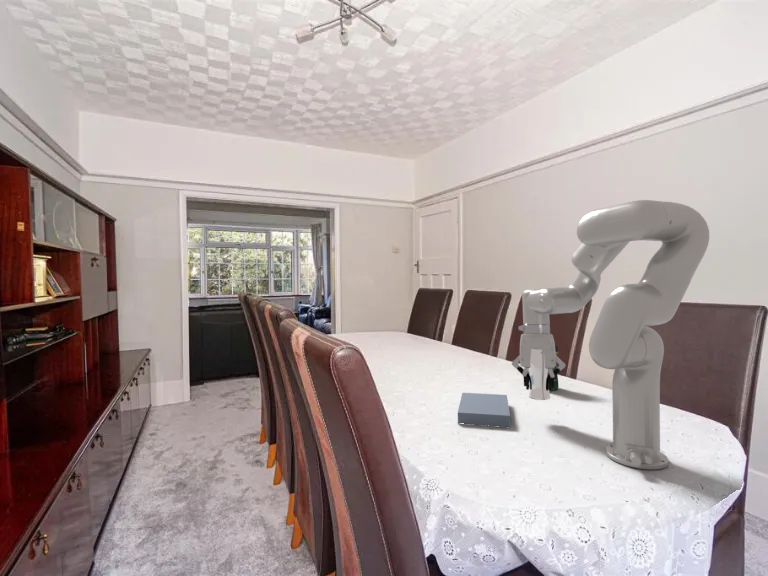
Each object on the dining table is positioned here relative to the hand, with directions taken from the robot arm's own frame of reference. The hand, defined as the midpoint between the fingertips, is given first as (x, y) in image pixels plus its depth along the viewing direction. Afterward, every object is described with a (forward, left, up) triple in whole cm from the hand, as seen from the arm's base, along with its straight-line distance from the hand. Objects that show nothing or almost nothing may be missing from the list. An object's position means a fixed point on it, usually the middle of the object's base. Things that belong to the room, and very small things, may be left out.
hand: (539, 388), depth 123 cm
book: (+1, +17, -10) cm, 20 cm away
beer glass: (0, 0, -3) cm, 3 cm away
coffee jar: (+40, 0, -10) cm, 41 cm away
